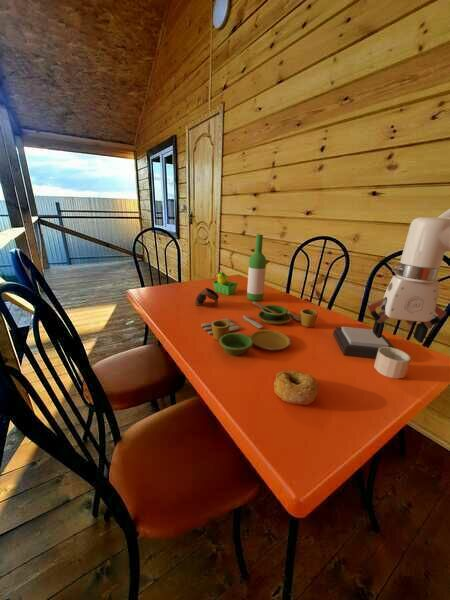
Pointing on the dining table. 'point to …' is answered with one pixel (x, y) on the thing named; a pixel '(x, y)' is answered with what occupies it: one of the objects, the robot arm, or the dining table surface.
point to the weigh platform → (363, 337)
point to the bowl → (392, 362)
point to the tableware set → (262, 338)
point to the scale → (356, 346)
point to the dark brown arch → (209, 294)
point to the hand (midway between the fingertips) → (397, 337)
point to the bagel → (296, 387)
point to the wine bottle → (256, 272)
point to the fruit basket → (224, 284)
